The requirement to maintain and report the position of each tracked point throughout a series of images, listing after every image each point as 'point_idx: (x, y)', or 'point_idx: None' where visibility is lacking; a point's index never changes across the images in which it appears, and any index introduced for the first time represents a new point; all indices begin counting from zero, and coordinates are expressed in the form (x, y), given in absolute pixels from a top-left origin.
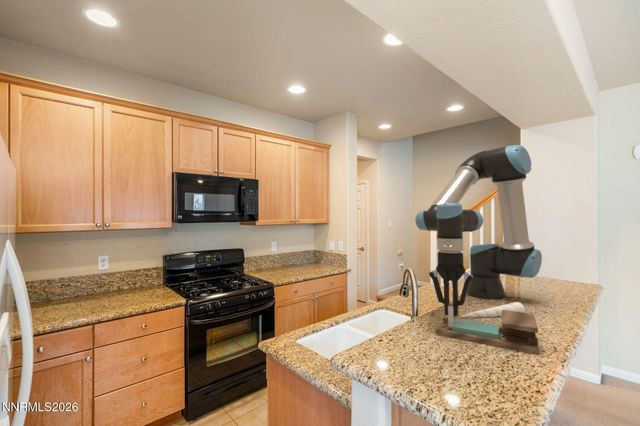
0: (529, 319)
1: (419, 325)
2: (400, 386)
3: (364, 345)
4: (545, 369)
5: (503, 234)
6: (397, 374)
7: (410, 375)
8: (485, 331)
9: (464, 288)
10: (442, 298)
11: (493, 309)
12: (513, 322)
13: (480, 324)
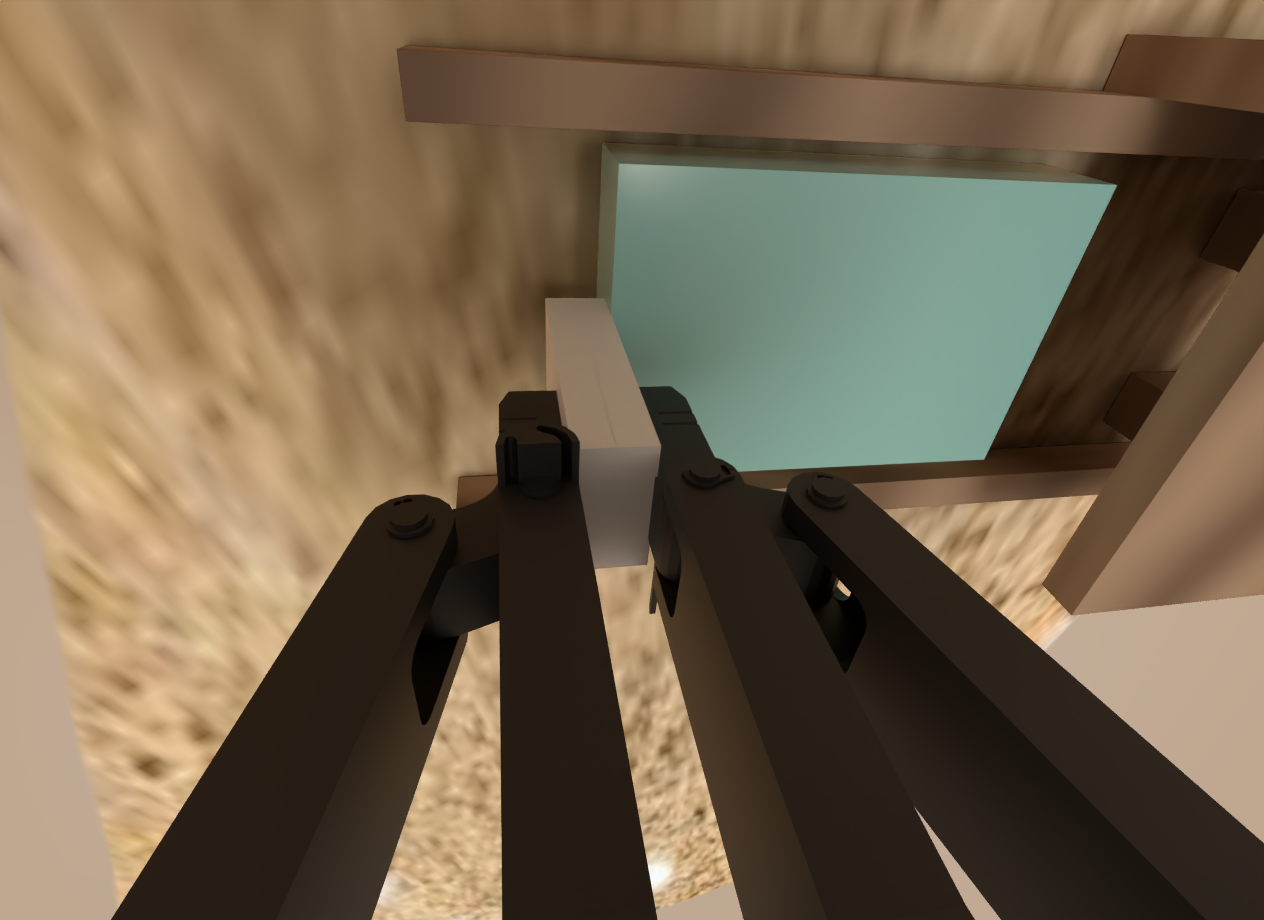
0: None
1: (187, 364)
2: (491, 909)
3: (129, 840)
4: (1041, 603)
5: None
6: (449, 886)
7: (496, 870)
8: (897, 445)
9: (1022, 897)
10: (453, 599)
11: None
12: (1190, 560)
13: (905, 265)
